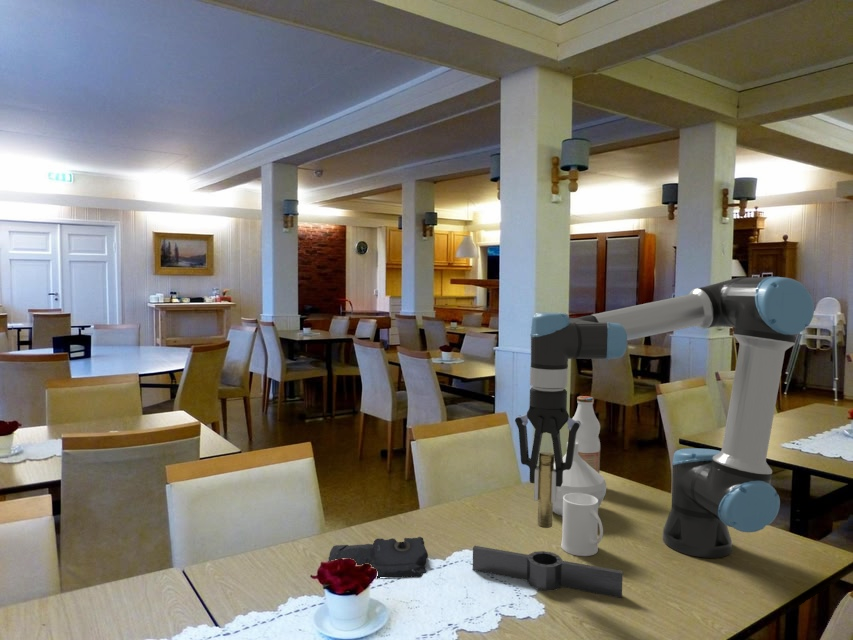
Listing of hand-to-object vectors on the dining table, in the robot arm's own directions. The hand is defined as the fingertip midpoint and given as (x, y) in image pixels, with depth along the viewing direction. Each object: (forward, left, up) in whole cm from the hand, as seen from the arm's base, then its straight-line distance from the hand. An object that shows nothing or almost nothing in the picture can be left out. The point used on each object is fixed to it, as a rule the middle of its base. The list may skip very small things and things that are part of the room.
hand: (545, 499), depth 123 cm
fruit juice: (-1, -63, -18) cm, 66 cm away
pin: (0, 0, -5) cm, 5 cm away
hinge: (0, 0, -18) cm, 18 cm away
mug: (-6, -18, -18) cm, 26 cm away
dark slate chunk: (+36, +5, -19) cm, 41 cm away
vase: (0, -42, -18) cm, 46 cm away
